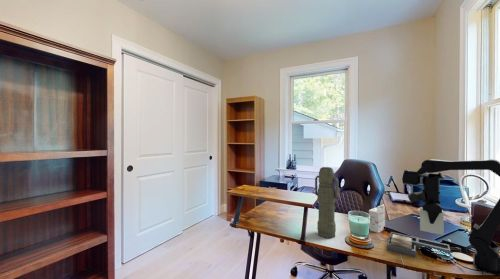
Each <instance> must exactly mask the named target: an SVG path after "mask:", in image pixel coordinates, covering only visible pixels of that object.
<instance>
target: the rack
mask: <svg viewBox="0 0 500 279" xmlns="http://www.w3.org/2000/svg"><path fill="white" fill-rule="evenodd" d="M393 234H395V235H399V236H404V237H408V238H412V246H411V249H409V248H405V247H401V246H398V245H394V244H391V239H392V236H393ZM387 240H388V241H387V244H386V251H389V252H393V253H396V254H401V255H404V256H408V257H411V258H416V251H417V250H419V248H420V247H422V246H425V247H430V248H434V249H437V250H440V251H443V252H445V253H448V254H450V255H451V248H450V244H447V243H442V242H440V241H439V242H438V241H435V240H429V239H425V238H422V237H421V238H420V237H417V236H412V235H407V234H403V233H398V232H393V231H390V234H389V238H388V239H387ZM429 244H432V245H429ZM433 245H435V246H433ZM437 246H438V247H437ZM419 251H420V250H419Z"/></svg>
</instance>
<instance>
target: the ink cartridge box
mask: <svg viewBox="0 0 500 279" xmlns="http://www.w3.org/2000/svg"><path fill="white" fill-rule="evenodd" d="M369 215H370V218H371V219H370V230H369V231H371V232H375V233H381V232H382V231H385V229H384V227H385V228H386V207H385V204H384V203H383V204H380V205H378V206H377V207H373V208H371V209H369V210H368V216H369Z"/></svg>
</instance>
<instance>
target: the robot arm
mask: <svg viewBox="0 0 500 279" xmlns="http://www.w3.org/2000/svg"><path fill="white" fill-rule="evenodd" d="M486 170H487V171H490V172H492V173H493V174H495V175H496V176H498V177H500V161H499V160H497V159H493V158H490V159H473V160H472V159H471V160H444V159H436V158H431V159H425V160H423V162H421V165H420V168H419V169H418V170H409V169H404V170H403V174H402V178H401V179H402V184H403V185H410V186H415V187H419V186H420V185H422V189H421V190H422V191H417V192H410V193H407V198H408V200H409V201H410V203H415V202H419V201H422V207H423V210H424V211H427V213H428V217H429V221H430V223H431V224H434V222H435V220H436V218H437V217H438V215H439V213H442V210H443V207H442V205H441V198H440V197H441V191H440V190H441V189H440V186H441V184H440V183H441V182H440V180H444V179H446V176H445V175H444V174H442V172H445V171H446V172H447V171H486ZM426 173H427V174H428V175H427V174H426ZM499 227H500V198H499V199H498V200H497V202H496V203H495V205H494V206H493V208H492V210H491V211H490V212H489V214H488V215H487V217H486V218H485V220H484V221H483V222H482V224H480V225H479V224H477V223H474V225H473V227H472V229H470V231H469V232H468V234H467V236H468V242H469V244H470V245H471V247H473V248H474V249H475V251H474V252H473V254H472V257H473V258H472V261H473V262H472V263H473V266H475V268H476V270H477V271H481V272H485V273H488V274H493V275H497V276H500V246H499V245H498V244H497V243H496V242H495V241H493V240H494V235H495V233H496V231H497V229H498V228H499Z"/></svg>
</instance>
